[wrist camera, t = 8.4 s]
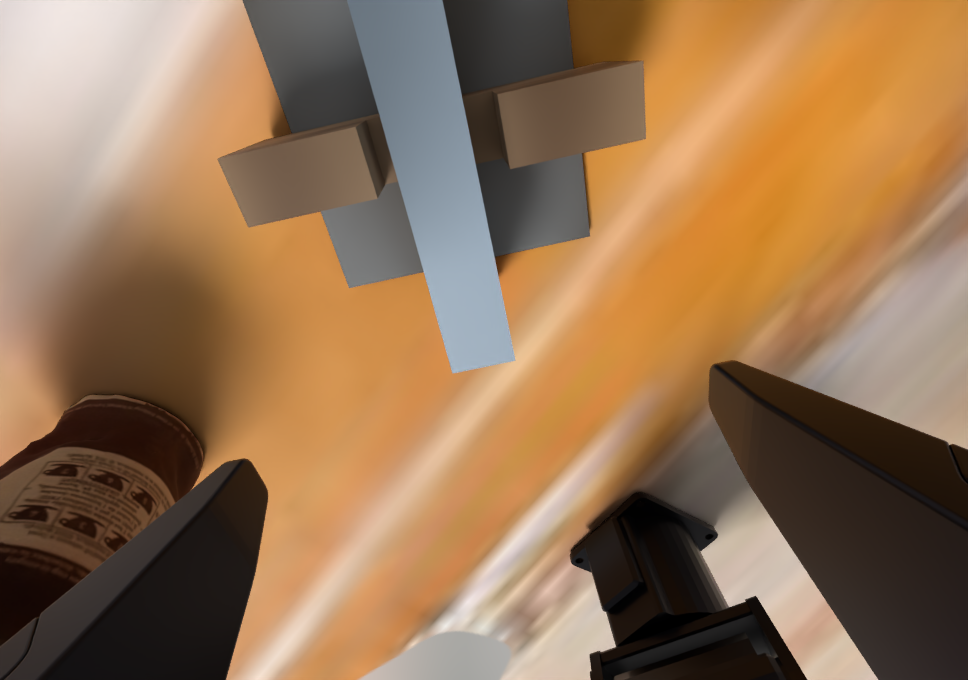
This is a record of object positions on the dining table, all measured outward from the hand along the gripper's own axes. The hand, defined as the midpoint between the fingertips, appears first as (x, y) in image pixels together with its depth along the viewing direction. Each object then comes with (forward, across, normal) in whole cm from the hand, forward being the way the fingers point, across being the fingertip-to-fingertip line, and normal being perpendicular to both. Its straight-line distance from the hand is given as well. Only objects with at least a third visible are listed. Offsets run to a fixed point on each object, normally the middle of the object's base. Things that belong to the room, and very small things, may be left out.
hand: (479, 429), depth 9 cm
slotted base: (+12, 0, -4) cm, 13 cm away
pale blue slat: (+12, 0, -4) cm, 12 cm away
